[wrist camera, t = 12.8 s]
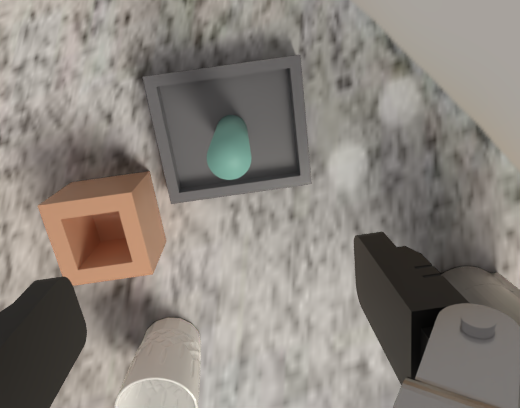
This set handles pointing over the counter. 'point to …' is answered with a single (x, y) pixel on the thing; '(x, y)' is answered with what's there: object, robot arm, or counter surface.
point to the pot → (105, 228)
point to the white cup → (164, 368)
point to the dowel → (229, 149)
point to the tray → (231, 103)
